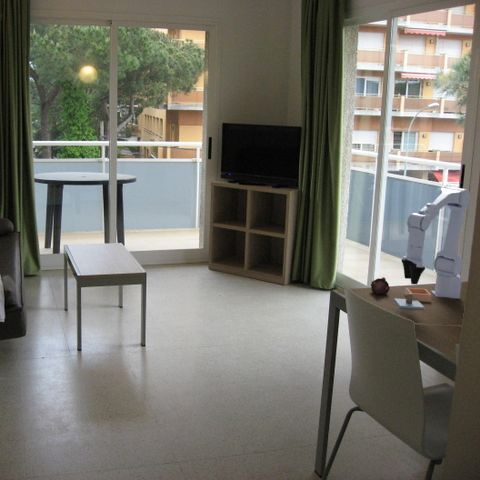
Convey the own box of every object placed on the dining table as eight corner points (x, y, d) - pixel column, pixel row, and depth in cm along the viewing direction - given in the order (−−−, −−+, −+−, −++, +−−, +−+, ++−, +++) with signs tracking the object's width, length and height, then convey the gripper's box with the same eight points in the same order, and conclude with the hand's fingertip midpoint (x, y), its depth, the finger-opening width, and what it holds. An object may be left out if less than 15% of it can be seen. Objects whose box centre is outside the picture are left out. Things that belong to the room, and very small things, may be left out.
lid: (417, 301, 263) (418, 290, 262) (423, 309, 254) (425, 298, 253) (393, 300, 262) (395, 289, 261) (399, 307, 254) (401, 296, 253)
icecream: (390, 285, 261) (394, 279, 276) (372, 278, 263) (376, 272, 277) (383, 302, 263) (387, 295, 277) (365, 294, 265) (370, 288, 279)
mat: (417, 302, 263) (417, 301, 263) (425, 311, 254) (425, 309, 254) (392, 301, 263) (392, 299, 263) (398, 309, 253) (398, 308, 253)
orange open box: (424, 297, 271) (425, 288, 271) (430, 303, 264) (431, 294, 263) (404, 296, 271) (405, 287, 270) (410, 302, 263) (411, 293, 263)
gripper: (398, 240, 260) (394, 275, 263) (411, 249, 246) (406, 286, 249) (417, 241, 260) (412, 276, 263) (430, 250, 246) (425, 287, 249)
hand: (410, 281), depth 256 cm, fingers open, 7 cm apart
